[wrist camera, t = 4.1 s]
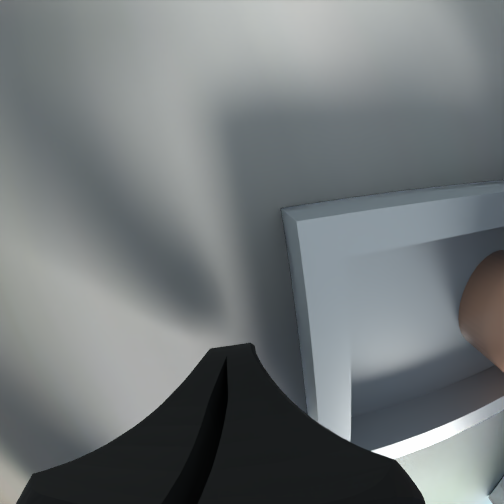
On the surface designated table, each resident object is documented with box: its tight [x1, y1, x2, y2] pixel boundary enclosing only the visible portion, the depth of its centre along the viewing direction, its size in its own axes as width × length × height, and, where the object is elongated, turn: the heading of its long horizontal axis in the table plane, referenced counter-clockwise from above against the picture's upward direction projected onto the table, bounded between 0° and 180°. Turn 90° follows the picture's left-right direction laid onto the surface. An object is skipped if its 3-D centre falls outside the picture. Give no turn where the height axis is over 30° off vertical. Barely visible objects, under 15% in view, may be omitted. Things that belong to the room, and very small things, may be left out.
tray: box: [281, 180, 504, 459], centre depth 9 cm, size 12×9×3 cm
